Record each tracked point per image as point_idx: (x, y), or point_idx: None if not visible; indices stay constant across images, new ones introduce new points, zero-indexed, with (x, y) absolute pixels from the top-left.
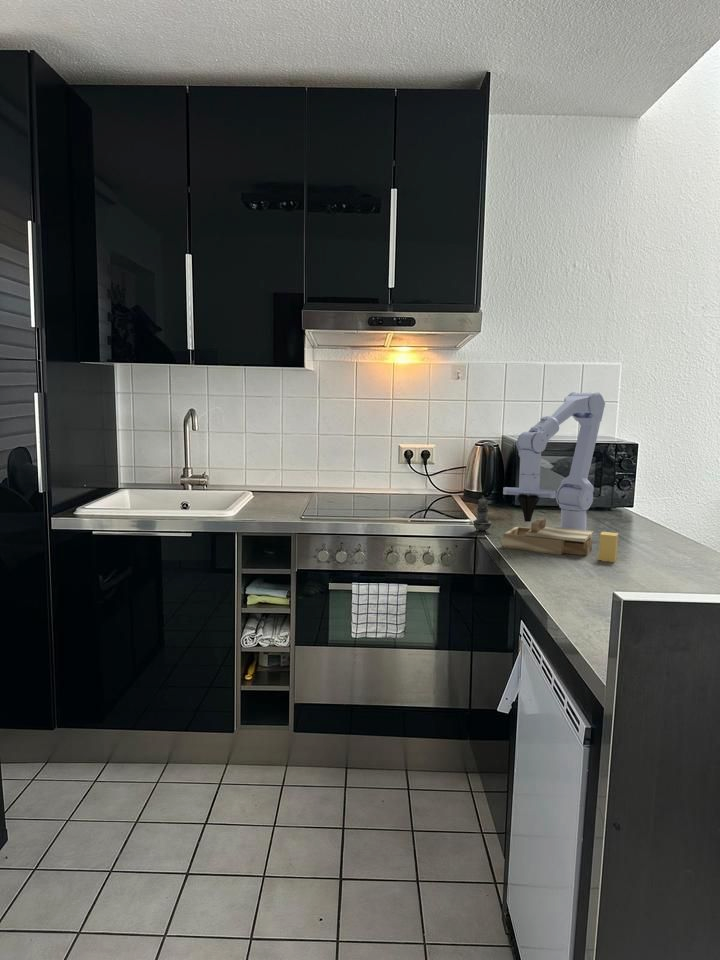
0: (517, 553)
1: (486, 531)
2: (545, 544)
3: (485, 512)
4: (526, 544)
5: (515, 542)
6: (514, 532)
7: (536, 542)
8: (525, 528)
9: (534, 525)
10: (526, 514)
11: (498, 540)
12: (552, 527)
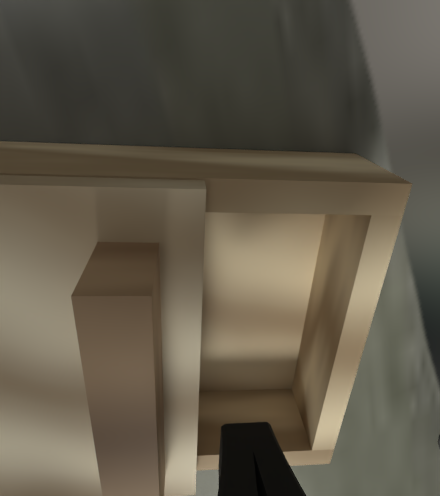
0: (224, 5)
1: None
2: (13, 157)
3: None
4: (186, 159)
5: (279, 161)
6: (324, 359)
7: (96, 164)
8: None
9: (111, 284)
10: (266, 491)
11: (394, 335)
12: (73, 485)
